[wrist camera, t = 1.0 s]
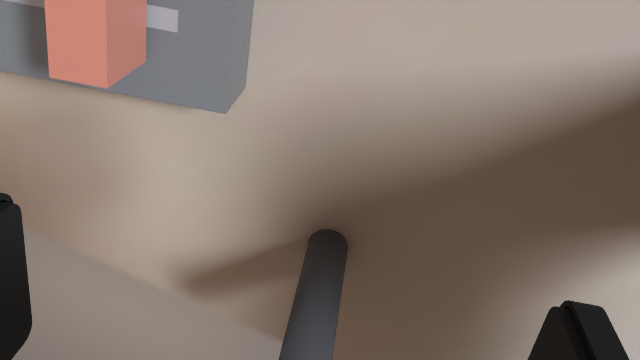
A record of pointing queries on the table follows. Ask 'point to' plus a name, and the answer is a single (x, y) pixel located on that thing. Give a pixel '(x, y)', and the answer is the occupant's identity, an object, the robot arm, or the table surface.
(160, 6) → the box
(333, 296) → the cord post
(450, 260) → the table surface
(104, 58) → the switch
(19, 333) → the robot arm
